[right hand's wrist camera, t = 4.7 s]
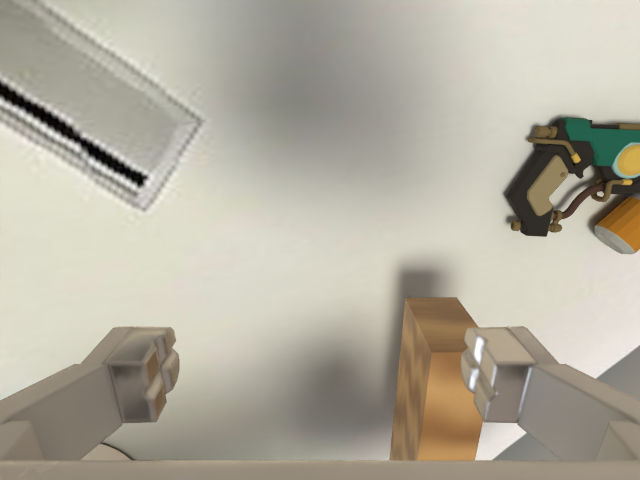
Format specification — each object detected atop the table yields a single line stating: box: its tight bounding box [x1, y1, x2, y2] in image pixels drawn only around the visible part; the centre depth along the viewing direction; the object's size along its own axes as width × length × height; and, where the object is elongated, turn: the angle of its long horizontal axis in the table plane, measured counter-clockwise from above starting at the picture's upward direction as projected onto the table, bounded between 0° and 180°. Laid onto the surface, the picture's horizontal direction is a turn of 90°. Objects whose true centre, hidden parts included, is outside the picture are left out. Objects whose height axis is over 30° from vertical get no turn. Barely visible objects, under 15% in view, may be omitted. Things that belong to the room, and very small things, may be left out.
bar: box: [390, 298, 483, 461], centre depth 35 cm, size 24×5×8 cm, turn 0°
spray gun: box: [506, 118, 640, 254], centre depth 36 cm, size 4×17×15 cm
